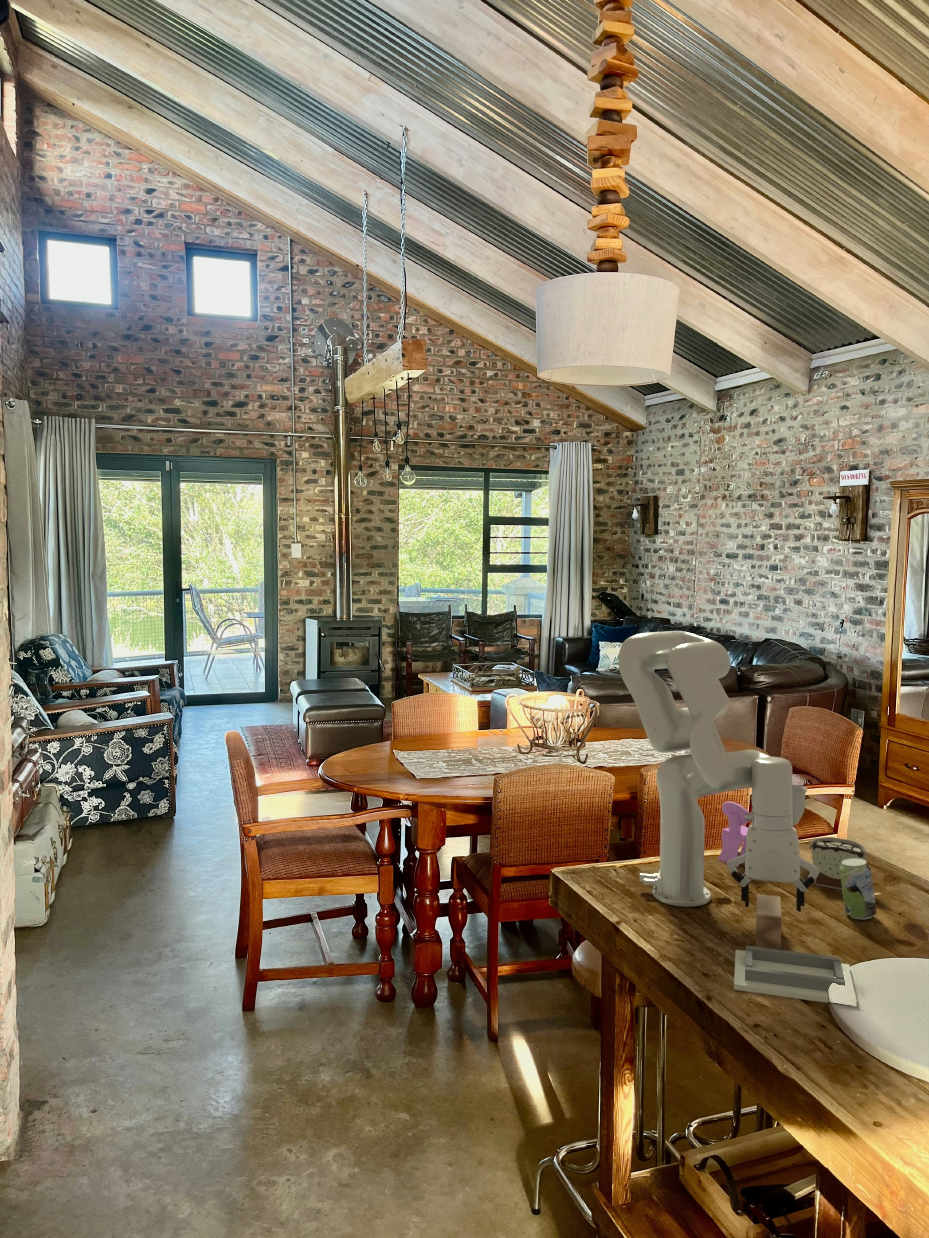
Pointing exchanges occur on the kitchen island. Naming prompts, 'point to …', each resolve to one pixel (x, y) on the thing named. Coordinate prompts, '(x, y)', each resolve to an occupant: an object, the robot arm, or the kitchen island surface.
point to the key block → (768, 922)
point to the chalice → (798, 802)
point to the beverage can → (857, 888)
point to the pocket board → (787, 973)
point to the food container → (833, 858)
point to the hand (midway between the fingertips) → (772, 906)
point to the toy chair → (733, 831)
